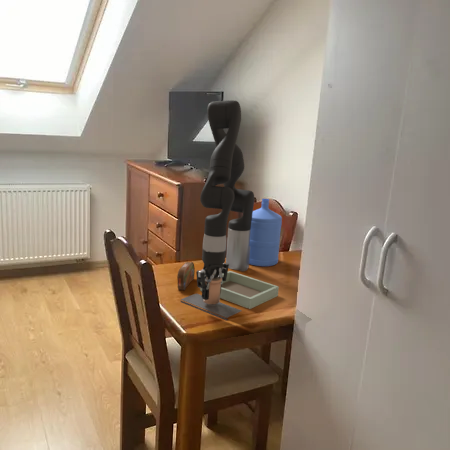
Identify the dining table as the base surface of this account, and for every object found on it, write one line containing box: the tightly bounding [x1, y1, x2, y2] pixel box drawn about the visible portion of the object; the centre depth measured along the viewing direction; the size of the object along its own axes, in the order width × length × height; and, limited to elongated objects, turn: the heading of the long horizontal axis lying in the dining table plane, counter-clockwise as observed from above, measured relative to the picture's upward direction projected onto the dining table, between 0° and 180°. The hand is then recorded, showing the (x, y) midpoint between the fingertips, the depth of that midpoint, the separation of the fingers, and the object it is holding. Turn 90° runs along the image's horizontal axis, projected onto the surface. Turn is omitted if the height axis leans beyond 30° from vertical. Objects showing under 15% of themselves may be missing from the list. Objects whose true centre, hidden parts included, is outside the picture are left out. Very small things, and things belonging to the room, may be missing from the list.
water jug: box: [249, 198, 283, 267], centre depth 209 cm, size 16×16×28 cm
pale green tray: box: [199, 270, 280, 310], centre depth 171 cm, size 17×22×4 cm
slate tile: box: [180, 293, 243, 322], centre depth 159 cm, size 8×20×1 cm, turn 51°
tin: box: [176, 261, 196, 291], centre depth 176 cm, size 15×3×8 cm, turn 168°
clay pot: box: [203, 277, 222, 304], centre depth 158 cm, size 6×6×8 cm
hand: (211, 296), depth 159 cm, fingers closed on clay pot, 5 cm apart
